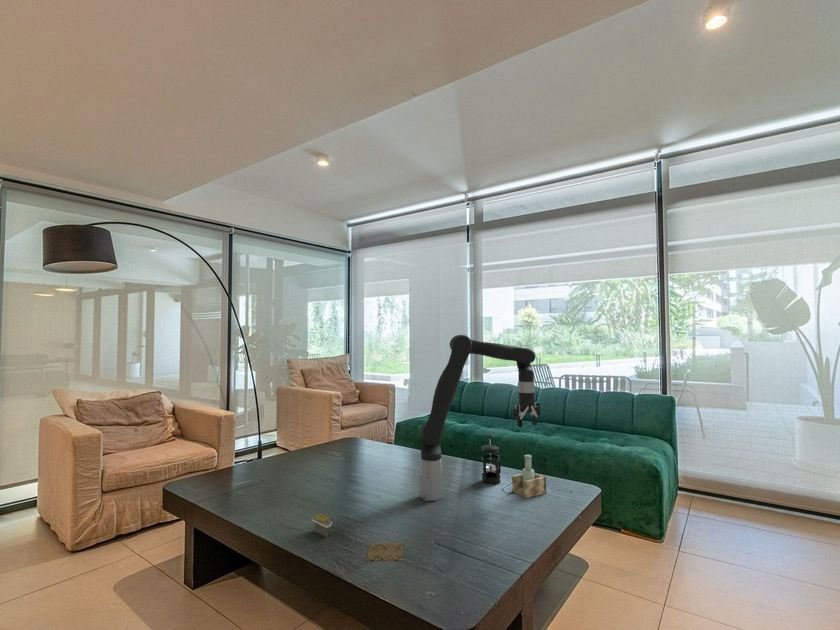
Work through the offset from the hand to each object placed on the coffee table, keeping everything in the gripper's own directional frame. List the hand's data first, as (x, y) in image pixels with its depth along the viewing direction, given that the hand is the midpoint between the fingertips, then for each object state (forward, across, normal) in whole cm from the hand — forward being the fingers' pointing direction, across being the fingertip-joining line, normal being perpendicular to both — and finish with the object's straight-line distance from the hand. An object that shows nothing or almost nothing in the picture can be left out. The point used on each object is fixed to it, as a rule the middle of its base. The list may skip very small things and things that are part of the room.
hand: (527, 426), depth 196 cm
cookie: (+31, -79, -17) cm, 87 cm away
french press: (+30, -6, +20) cm, 37 cm away
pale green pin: (+29, 0, 0) cm, 29 cm away
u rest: (+30, 0, 0) cm, 30 cm away
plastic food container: (+31, -94, +7) cm, 99 cm away
